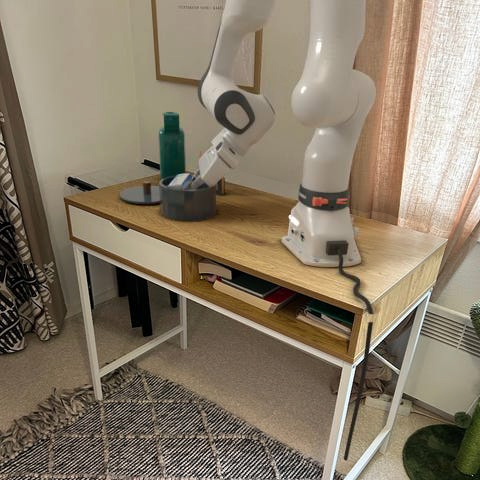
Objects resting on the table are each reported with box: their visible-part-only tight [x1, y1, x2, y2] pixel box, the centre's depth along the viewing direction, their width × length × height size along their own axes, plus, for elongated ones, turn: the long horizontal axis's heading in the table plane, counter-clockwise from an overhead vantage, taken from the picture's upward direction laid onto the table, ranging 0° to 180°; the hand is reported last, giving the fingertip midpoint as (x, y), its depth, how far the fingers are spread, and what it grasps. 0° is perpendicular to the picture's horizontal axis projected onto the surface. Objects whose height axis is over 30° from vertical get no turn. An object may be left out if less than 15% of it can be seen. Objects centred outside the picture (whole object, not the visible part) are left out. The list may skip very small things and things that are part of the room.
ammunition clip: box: [197, 150, 226, 196], centre depth 154 cm, size 11×2×12 cm, turn 52°
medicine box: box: [168, 172, 193, 190], centre depth 136 cm, size 8×4×9 cm, turn 167°
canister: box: [158, 174, 217, 222], centre depth 137 cm, size 16×16×8 cm
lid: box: [119, 180, 160, 205], centre depth 149 cm, size 17×17×5 cm
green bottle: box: [157, 111, 187, 180], centre depth 160 cm, size 10×8×22 cm
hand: (191, 185), depth 136 cm, fingers closed on medicine box, 3 cm apart
